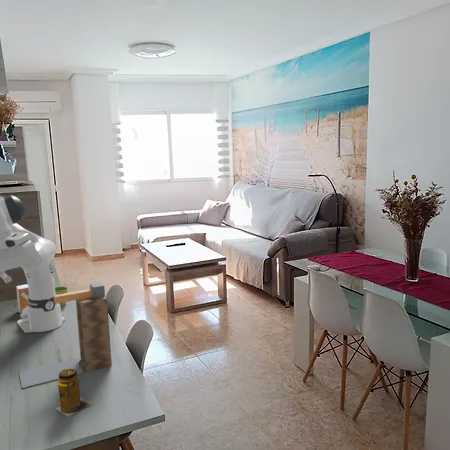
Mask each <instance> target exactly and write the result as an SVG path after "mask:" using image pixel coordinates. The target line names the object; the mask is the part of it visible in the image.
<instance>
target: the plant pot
mask: <svg viewBox="0 0 450 450" xmlns="http://www.w3.org/2000/svg"><path fill="white" fill-rule="evenodd" d="M68 289H69V287H67V286H55V293H56V295H58V294H64V293H68ZM58 304H60V307H61V308H62V307H64V306H66V305H67V302H62V303H58Z"/></svg>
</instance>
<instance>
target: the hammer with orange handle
mask: <svg viewBox="0 0 450 450" xmlns="http://www.w3.org/2000/svg"><path fill="white" fill-rule="evenodd" d="M105 293H106V291H105V285H104V284H103V282H101V281H99V282H98V281H97V282H93V283H89V289H88V288H87V289H83V290H77V291H71V292H67V293H64V294H58V295H54V302H55V304H57V303H62V302H66V303H68V302H72V301H76V300H79V299H85V298H90V297H93V298H97V297H102V296H105V297H106V294H105Z"/></svg>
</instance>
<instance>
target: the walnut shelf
mask: <svg viewBox="0 0 450 450" xmlns="http://www.w3.org/2000/svg"><path fill="white" fill-rule="evenodd" d="M75 307H76V309H75V310H76V319H77V329H78V330H77V331H78V333H77V334H78V342H79V356H80V361H81V362H83V361H85V363H84V364H85V370H86V372H91V371H95V370H98V369H103V368H107V367H111V366H113V365H112V363H113V362H112V352H111V350H112V349H111V336H110V321H109V306H108V298H107V296H106V295H105V296H102V297H97V298H93V297H90V298H85V299H79V300H75Z"/></svg>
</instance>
